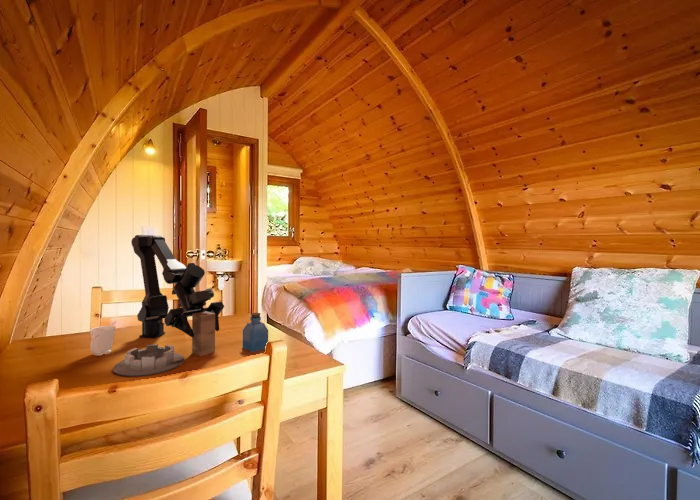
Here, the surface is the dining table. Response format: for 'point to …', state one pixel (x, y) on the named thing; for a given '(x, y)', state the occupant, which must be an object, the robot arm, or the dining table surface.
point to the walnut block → (203, 333)
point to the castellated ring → (148, 361)
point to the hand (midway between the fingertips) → (206, 333)
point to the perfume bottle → (255, 334)
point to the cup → (102, 339)
